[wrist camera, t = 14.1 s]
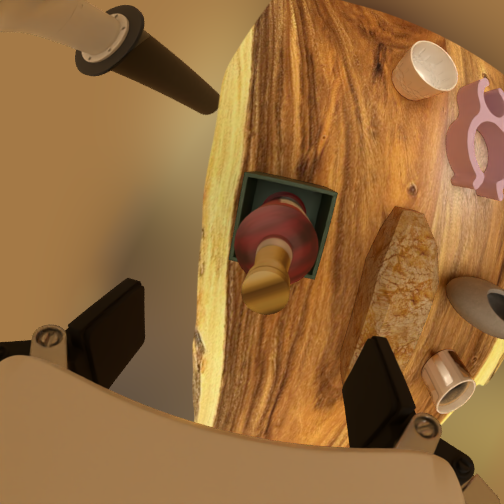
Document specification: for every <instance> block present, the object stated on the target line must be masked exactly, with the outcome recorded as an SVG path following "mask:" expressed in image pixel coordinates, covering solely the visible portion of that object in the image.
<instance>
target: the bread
mask: <svg viewBox="0 0 504 504" xmlns="http://www.w3.org/2000/svg"><path fill="white" fill-rule="evenodd" d="M438 283H439V269H438V252H437V245H436V242H435V239H434V237H433V234H432V232H431V230H430V227H429V225H428V223H427V220H426V218H425V216H424V214H422V213H420V212H417V211H415V210H410V209H405V208H400V207H395V208H394V209H393V211H392V212H391V214H390V215H389V217H388V218H387V220H386V221H385V223H384V224H383V225H382V227H381V228H380V230H379V232H378V235H377V237H376V239H375V241H374V243H373V245H372V247H371V249H370V251H369V253H368V255H367V257H366V260H365V265H364V269H363V274H362V278H361V282H360V286H359V290H358V294H357V298H356V302H355V305H354V309H353V312H352V316H351V320H350V323H349V326H348V330H347V333H346V336H345V339H344V343H343V346H342V349H341V378H342V384H343V385H344V383H345V381H346V379H347V377H348V375H349V374H350V372H351V370H352V368H353V366H354V364H355V362H356V360H357V358H358V357H359V355H360V353H361V351H362V349H363V347H364V344H365V342H366V341H367V339H369V338H370V339H371V337H372V336H380V337H385V338H387V340H388V342H389V344H390V346H391V349H392V351H393V353H394V355H395V358H396V360H397V362H398V364H399V367H400V369H401V371H402V373H403V371H404V369H405V367H406V365H407V363H408V361H409V359H410V357H411V355H412V353H413V350H414V348H415V346H416V344H417V341H418V339H419V337H420V334H421V332H422V329H423V327H424V324H425V322H426V319H427V317H428V314H429V311H430V309H431V306H432V303H433V300H434V297H435V294H436V291H437V287H438Z"/></svg>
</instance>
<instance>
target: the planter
mask: <svg viewBox="0 0 504 504" xmlns="http://www.w3.org/2000/svg"><path fill="white" fill-rule="evenodd" d="M446 293H447V297H448V299H449V301H450V303H451V305H452V306H453V307H454V309H455V310H456V311H457V312H458V313H459V314H460V315H461V316H462V317H463V318H464V319H465V320H466V321H467V322H469V323H470V324H472V325H473V326H474V327H476V328H478V329H479V330H481V331H483V332H485V333H487V334H489V335H491V336H494V337H497V338H500V339H504V290H503V289H502V288H500V287H498V286H497V285H495V284H493V283H490V282H488V281H486V280H483V279H479V278H475V277H457V278H454V279H452V280H451V281H450V282H449V283H448V284H447V287H446Z"/></svg>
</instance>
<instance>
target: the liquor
mask: <svg viewBox="0 0 504 504" xmlns="http://www.w3.org/2000/svg"><path fill="white" fill-rule="evenodd" d="M234 248H235V254H236V257H237V260H238V262H239V264H240V266H241V268H242V269H243V270H244V271H245V273H246V274H247V276H246V278H245V280H244V283H243V285H242V290H241V294H242V299H243V301H244V303H245V304H246V306H247V307H248V308H249V309H251V310H252V311H254V312H256V313H259V314H264V315H270V314H274V313H277V312H279V311H280V310H282V309H283V308H284V307H285V306H286V304H287V302H288V300H289V295H290V284H292V283H294V282H297V281H299V280H300V279H302V278H303V277H304V276H305V275H306V274H307V273H308V272H309V271H310V270H311V268H312V267H313V265H314V263H315V261H316V258H317V254H318V239H317V235H316V232H315V230H314V228H313V225H312V224H311V222H310V220H309V218H308V217H307V215H306V208H305V205H304V203H303V202H302V200H301V199H300V198H299V197H298V196H296V195H294V194H293V193H290V192H284V191H283V192H277V193H274V194H272V195H270V196H269V197H268V198H267V199H266V200H265V201H264V203H263V204H262V206H260V207H259V208H257V209H256V210H254V211H253V212H252V213H250V214H249V215H248V216H247V217H246V218H245V219H244V220H243V221H242V222H241V224H240V226H239V228H238V230H237V232H236V236H235V243H234Z"/></svg>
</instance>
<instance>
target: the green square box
mask: <svg viewBox="0 0 504 504" xmlns="http://www.w3.org/2000/svg"><path fill="white" fill-rule="evenodd" d="M283 191H284V192H290V193H293V194H294V195H296V196H298V197H299V198H300V199H301V200H302V202H303V203H304V205H305V208H306V215H307V217H308V218H309V220H310V222H311V224H312V225H313V228H314V230H315V232H316V235H317V239H318V254H317V258H316V261H315V263H314V265H313V267H312V268H311V270H310V271H309V272H308V273H307V274H306V275H305V276H304V277H305V278H310V279H314V280H315V277H316V273H317V270H318V267H319V263H320V260H321V256H322V252H323V249H324V245H325V242H326V238H327V234H328V230H329V226H330V223H331V219H332V215H333V211H334V207H335V202H336V198H337V194H338V193H337V192H335V191H333V190H331V189H329V188H327V187H324V186H320V185H316V184H312V183H308V182H304V181H299V180H295V179H291V178H286V177H282V176H277V175H272V174H267V173H262V172H257V171H255V172H245V173H244V178H243V184H242V189H241V194H240V200H239V205H238V210H237V216H236V221H235V227H234V233H233V238H232V244H231V250H230V255H229V260H232V261H236V262H238V260H237V257H236V254H235V248H234V243H235V236H236V232H237V230H238V228H239V226H240V224H241V222H242V221H243V220H244V219H245V218H246V217H247V216H248V215H249V214H250V213H252V212H253V211H254V210H256V209H257V208H259V207H260V206H262V204H263V203H264V201H265V200H266V199H267V198H268V197H269V196H270V195H272V194H274V193H277V192H283Z"/></svg>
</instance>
